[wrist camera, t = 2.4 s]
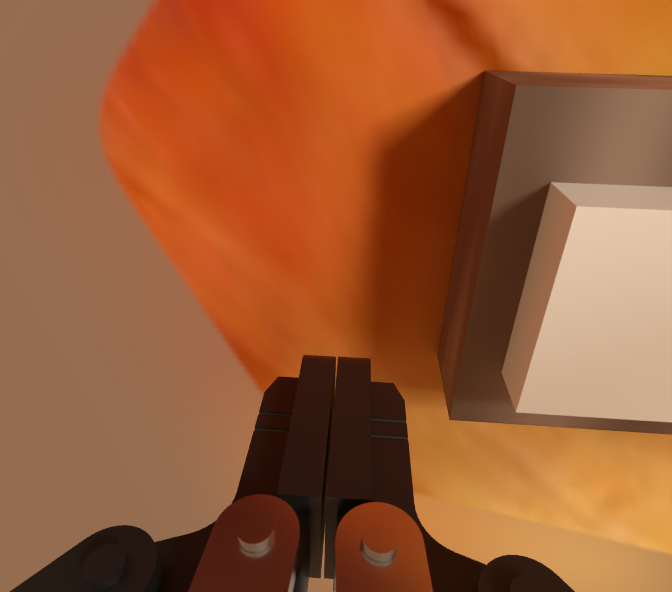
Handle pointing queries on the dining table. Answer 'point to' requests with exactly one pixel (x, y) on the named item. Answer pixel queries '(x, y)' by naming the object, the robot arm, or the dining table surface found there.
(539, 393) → the tile
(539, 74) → the block
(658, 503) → the dining table surface
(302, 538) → the robot arm
